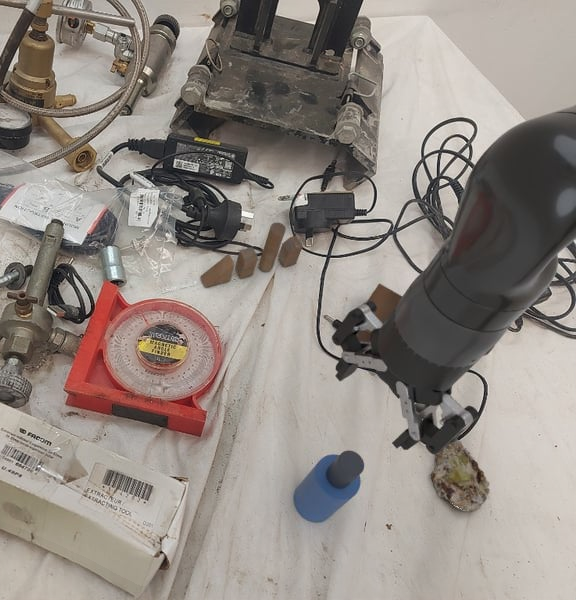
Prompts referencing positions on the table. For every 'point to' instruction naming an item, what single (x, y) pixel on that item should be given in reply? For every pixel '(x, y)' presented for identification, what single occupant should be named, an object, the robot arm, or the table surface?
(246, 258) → the wood blocks
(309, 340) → the table surface
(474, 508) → the mineral rock
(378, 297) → the walnut block
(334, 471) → the bottle
